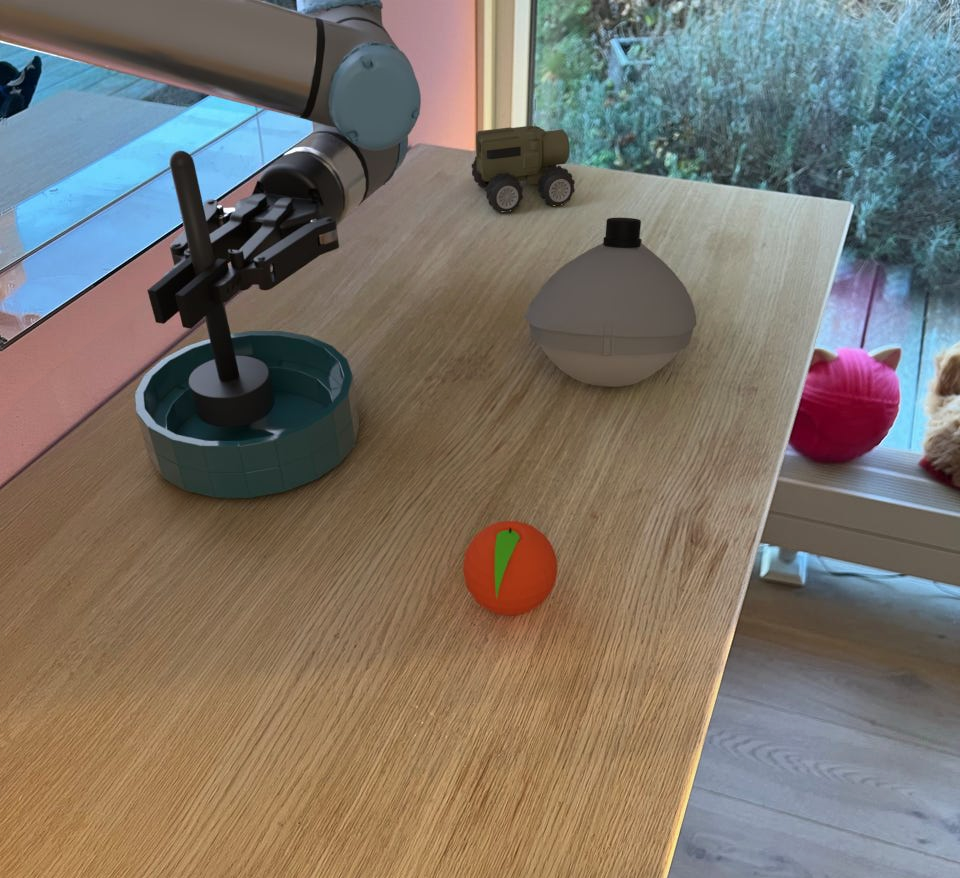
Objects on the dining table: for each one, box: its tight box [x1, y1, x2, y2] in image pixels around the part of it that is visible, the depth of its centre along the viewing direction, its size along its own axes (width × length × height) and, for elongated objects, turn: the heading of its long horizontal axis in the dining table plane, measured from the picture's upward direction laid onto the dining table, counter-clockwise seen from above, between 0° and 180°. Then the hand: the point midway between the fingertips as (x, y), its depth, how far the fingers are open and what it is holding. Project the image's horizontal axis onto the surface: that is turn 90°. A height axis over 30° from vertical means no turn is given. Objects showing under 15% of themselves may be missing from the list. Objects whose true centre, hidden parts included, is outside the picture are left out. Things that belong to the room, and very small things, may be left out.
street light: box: [524, 217, 698, 388], centre depth 101 cm, size 30×16×14 cm, turn 171°
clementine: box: [462, 520, 558, 617], centre depth 75 cm, size 8×7×7 cm
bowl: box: [134, 330, 360, 499], centre depth 92 cm, size 19×19×6 cm
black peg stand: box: [169, 150, 275, 427], centre depth 85 cm, size 7×7×22 cm
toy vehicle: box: [471, 98, 576, 212], centre depth 127 cm, size 10×11×12 cm
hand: (169, 309), depth 81 cm, fingers closed on black peg stand, 2 cm apart
